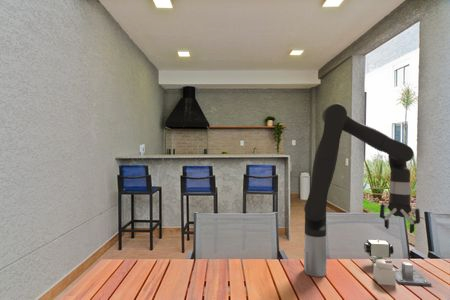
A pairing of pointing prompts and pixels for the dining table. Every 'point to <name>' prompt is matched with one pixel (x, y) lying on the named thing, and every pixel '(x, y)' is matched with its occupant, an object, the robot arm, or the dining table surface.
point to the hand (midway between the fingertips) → (399, 230)
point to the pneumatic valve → (378, 249)
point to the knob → (384, 272)
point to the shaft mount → (410, 276)
